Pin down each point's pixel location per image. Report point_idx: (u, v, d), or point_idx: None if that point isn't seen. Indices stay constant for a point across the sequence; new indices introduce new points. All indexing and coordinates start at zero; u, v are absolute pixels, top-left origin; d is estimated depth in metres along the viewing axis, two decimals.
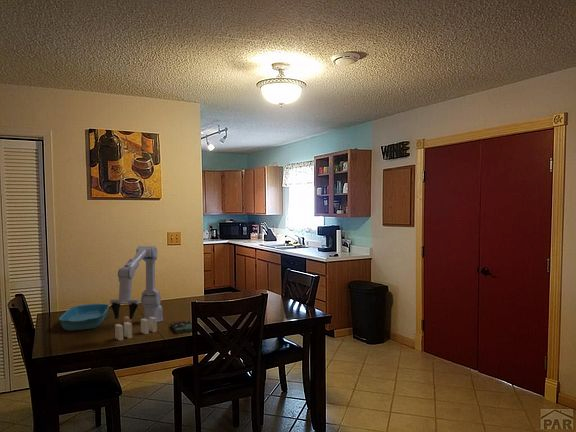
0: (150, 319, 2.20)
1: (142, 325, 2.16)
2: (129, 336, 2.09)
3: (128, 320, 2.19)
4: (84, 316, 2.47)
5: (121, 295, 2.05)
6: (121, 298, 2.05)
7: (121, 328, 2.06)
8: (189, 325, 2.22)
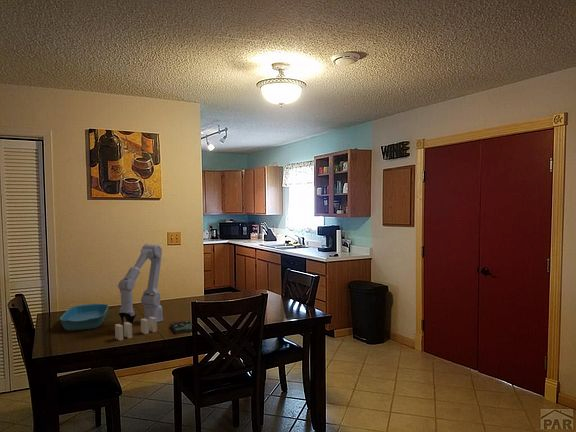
0: (150, 319, 2.20)
1: (142, 325, 2.16)
2: (129, 336, 2.09)
3: None
4: (83, 316, 2.47)
5: (121, 306, 2.20)
6: (121, 308, 2.20)
7: (121, 328, 2.06)
8: (189, 325, 2.22)
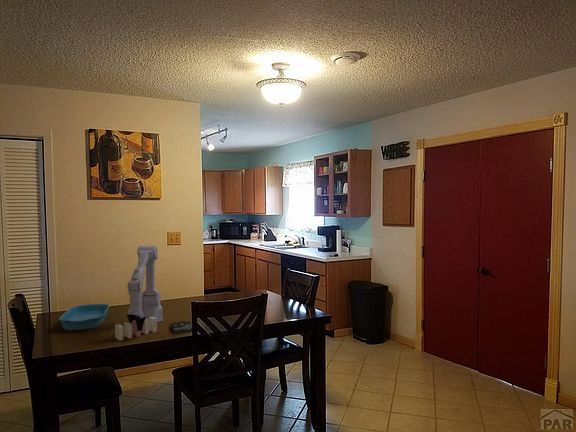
0: (150, 319, 2.20)
1: None
2: (129, 336, 2.09)
3: None
4: (84, 316, 2.47)
5: (130, 307, 2.12)
6: (130, 310, 2.12)
7: (121, 328, 2.06)
8: (188, 325, 2.21)
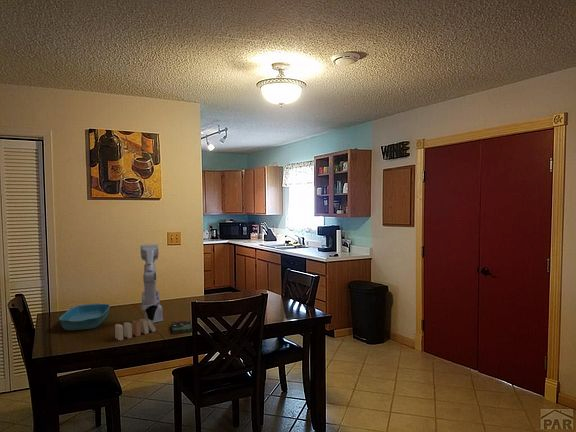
0: None
1: (141, 325, 2.16)
2: (129, 336, 2.09)
3: (137, 324, 2.12)
4: (85, 316, 2.47)
5: None
6: None
7: (121, 328, 2.06)
8: (187, 325, 2.21)
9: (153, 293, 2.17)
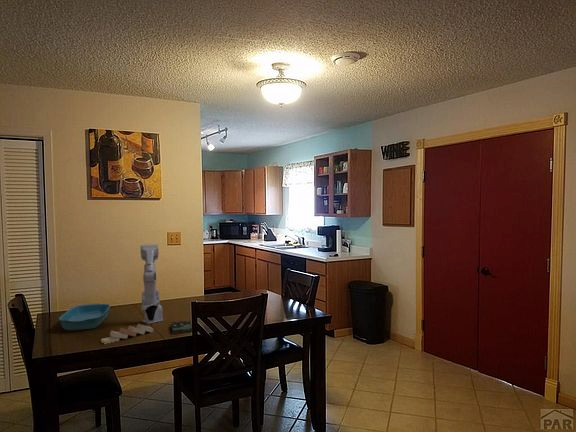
0: (139, 328, 2.15)
1: None
2: (125, 337, 2.07)
3: (125, 332, 2.07)
4: (86, 316, 2.48)
5: None
6: None
7: (107, 342, 2.01)
8: (187, 325, 2.21)
9: (153, 293, 2.17)
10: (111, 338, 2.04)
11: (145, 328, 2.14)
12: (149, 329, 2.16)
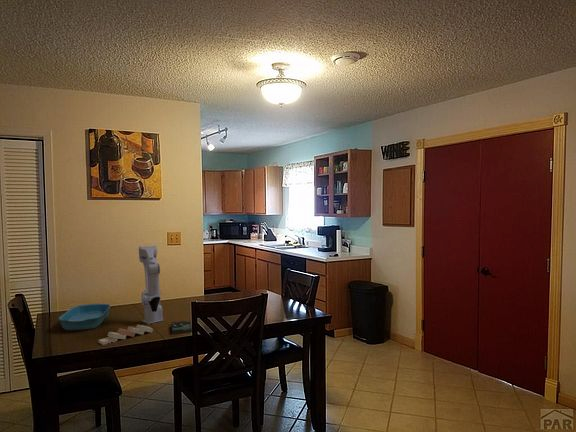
0: None
1: None
2: (124, 337, 2.06)
3: (124, 333, 2.06)
4: (86, 316, 2.48)
5: None
6: None
7: (105, 343, 2.00)
8: (187, 325, 2.21)
9: (157, 285, 2.22)
10: (109, 339, 2.03)
11: (145, 328, 2.14)
12: (149, 329, 2.16)
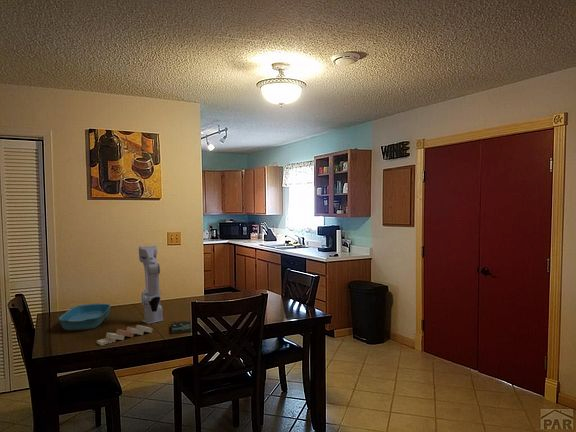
0: (138, 329, 2.15)
1: None
2: (122, 338, 2.05)
3: (122, 334, 2.06)
4: (86, 316, 2.48)
5: None
6: None
7: (103, 343, 1.99)
8: (187, 325, 2.21)
9: (157, 285, 2.22)
10: (107, 339, 2.02)
11: (144, 329, 2.14)
12: (148, 329, 2.15)
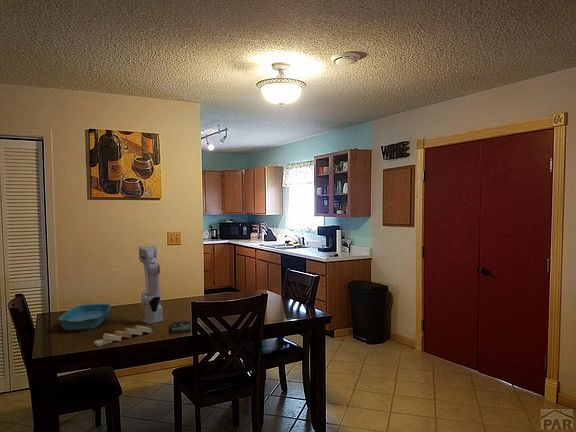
0: (137, 329, 2.14)
1: None
2: (119, 339, 2.04)
3: (120, 335, 2.05)
4: (86, 316, 2.48)
5: None
6: None
7: (100, 344, 1.98)
8: (187, 326, 2.21)
9: (157, 285, 2.22)
10: (105, 340, 2.01)
11: (143, 329, 2.13)
12: (148, 330, 2.15)
